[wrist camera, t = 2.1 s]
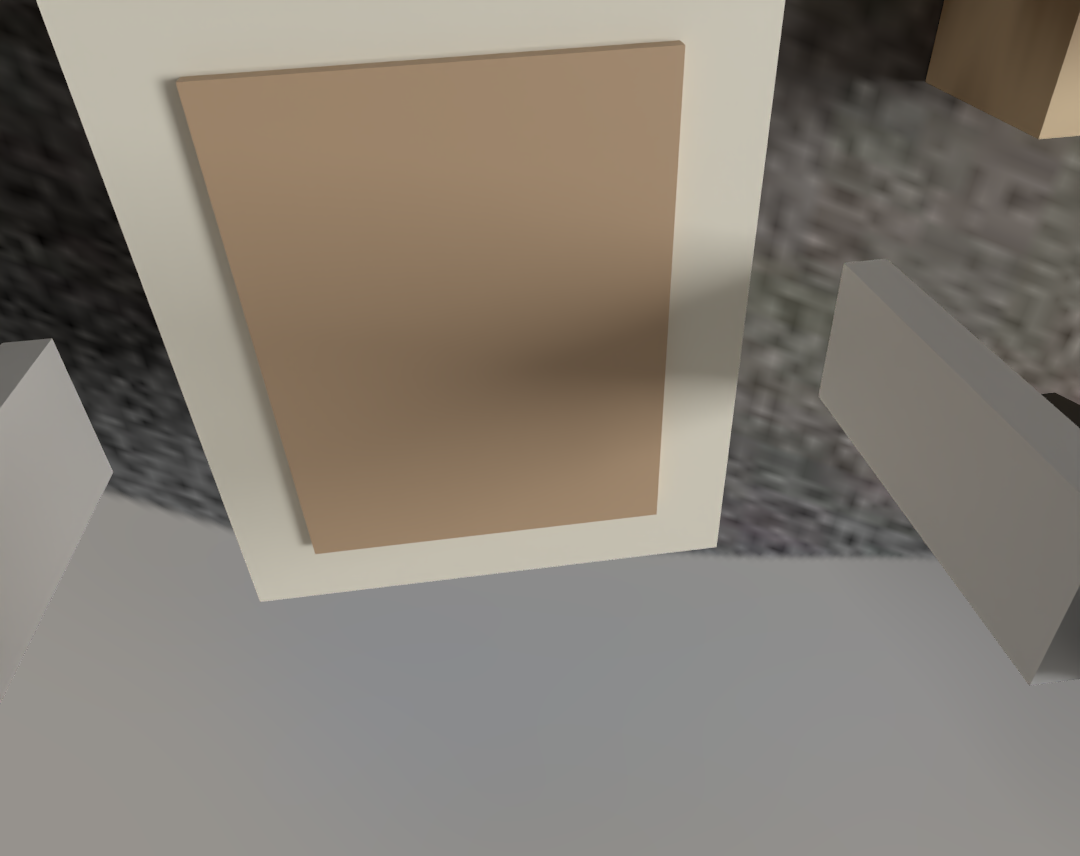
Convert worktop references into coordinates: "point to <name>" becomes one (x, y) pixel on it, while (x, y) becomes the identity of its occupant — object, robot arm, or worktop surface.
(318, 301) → the lid
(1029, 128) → the block
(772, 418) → the worktop surface
